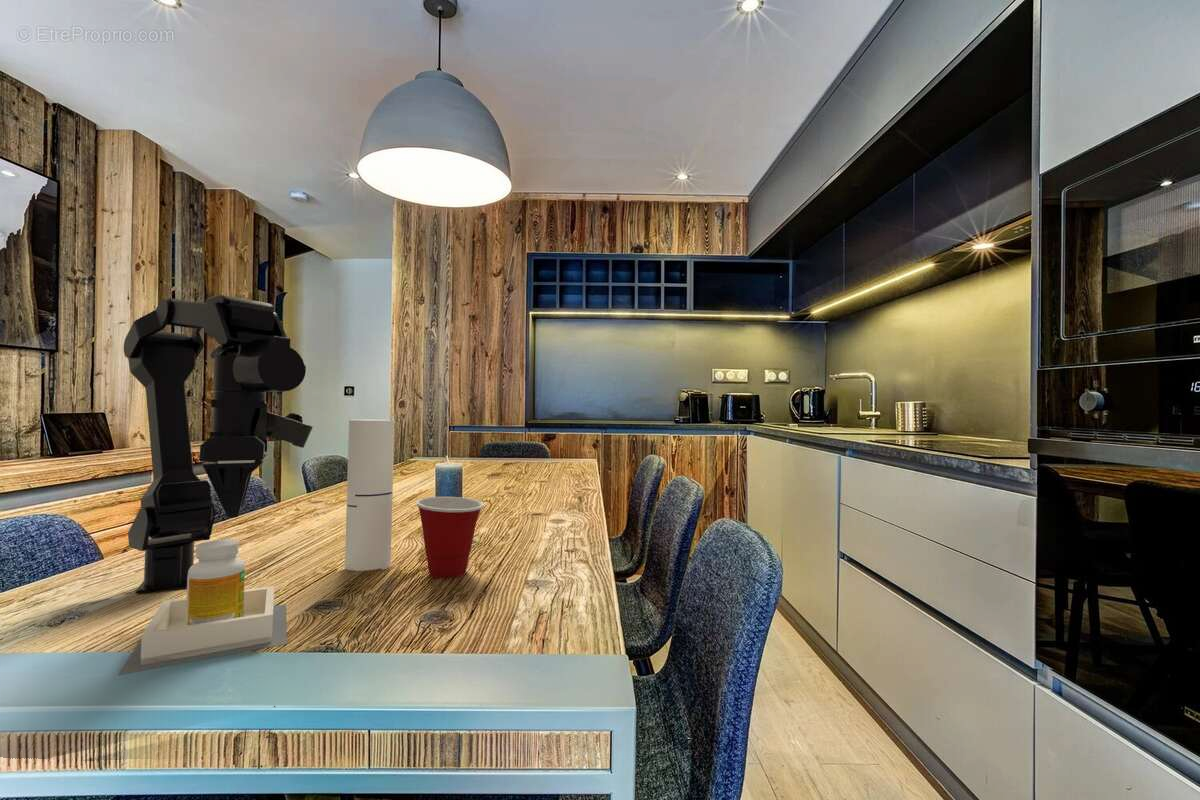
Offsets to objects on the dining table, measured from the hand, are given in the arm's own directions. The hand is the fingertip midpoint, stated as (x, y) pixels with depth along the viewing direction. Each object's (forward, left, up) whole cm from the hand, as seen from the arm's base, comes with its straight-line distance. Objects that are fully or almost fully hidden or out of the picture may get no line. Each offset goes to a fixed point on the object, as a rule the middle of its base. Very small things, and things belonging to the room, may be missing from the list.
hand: (236, 511), depth 69 cm
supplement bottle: (+9, -1, -12) cm, 15 cm away
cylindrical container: (-13, +18, -13) cm, 26 cm away
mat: (+9, -1, -13) cm, 16 cm away
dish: (+9, -1, -12) cm, 15 cm away
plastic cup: (-3, +29, -13) cm, 32 cm away
